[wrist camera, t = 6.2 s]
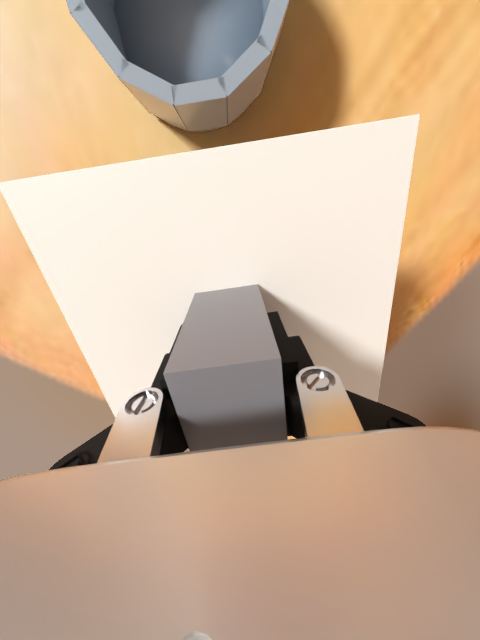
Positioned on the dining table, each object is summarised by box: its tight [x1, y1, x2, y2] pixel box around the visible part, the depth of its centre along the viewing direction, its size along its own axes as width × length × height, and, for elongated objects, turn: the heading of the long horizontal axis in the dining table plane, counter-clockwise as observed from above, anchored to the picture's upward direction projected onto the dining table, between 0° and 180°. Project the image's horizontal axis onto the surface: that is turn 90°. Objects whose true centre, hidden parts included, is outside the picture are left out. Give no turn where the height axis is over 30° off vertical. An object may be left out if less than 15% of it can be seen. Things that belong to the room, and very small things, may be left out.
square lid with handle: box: [0, 114, 420, 451], centre depth 10 cm, size 16×16×7 cm
